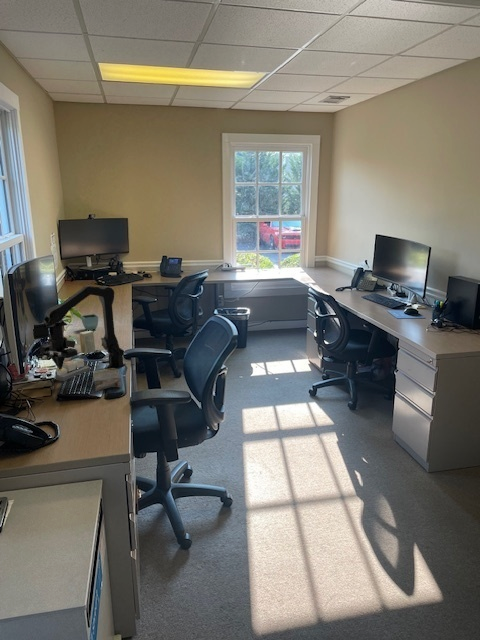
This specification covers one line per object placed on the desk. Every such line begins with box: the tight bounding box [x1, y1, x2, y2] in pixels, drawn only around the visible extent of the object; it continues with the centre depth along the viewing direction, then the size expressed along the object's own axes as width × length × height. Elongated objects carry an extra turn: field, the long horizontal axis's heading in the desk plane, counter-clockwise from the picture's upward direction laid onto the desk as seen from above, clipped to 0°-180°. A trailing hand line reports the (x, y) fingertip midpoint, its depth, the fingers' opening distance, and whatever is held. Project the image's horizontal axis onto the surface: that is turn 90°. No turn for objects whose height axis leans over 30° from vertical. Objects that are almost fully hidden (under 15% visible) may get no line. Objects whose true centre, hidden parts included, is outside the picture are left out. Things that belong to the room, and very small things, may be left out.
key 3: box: [56, 367, 67, 376], centre depth 211 cm, size 4×4×4 cm
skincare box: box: [79, 330, 96, 354], centre depth 245 cm, size 6×4×12 cm
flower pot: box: [80, 313, 99, 331], centre depth 298 cm, size 9×9×9 cm
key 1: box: [70, 357, 85, 368], centre depth 219 cm, size 4×4×4 cm
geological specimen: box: [93, 367, 122, 392], centre depth 202 cm, size 11×6×15 cm
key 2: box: [62, 360, 76, 372], centre depth 215 cm, size 4×4×4 cm
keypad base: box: [55, 365, 91, 382], centre depth 216 cm, size 10×16×2 cm, turn 151°
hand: (60, 368), depth 211 cm, fingers closed, pressing on key 3
